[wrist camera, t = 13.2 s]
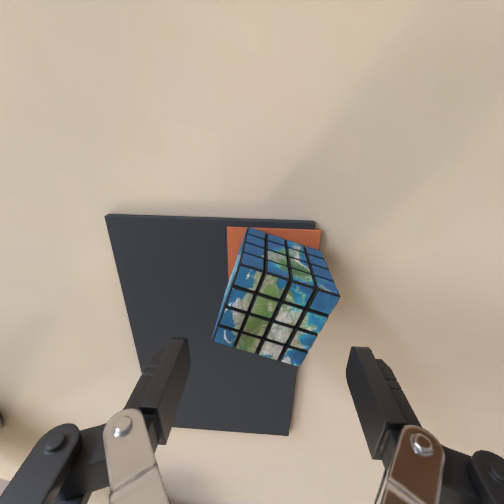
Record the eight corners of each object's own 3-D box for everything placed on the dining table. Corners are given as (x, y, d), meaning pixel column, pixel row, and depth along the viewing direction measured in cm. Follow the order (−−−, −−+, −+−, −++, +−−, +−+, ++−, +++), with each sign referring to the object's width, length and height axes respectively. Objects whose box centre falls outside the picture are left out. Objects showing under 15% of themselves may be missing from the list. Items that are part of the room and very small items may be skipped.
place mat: (156, 420, 31) (153, 427, 30) (108, 213, 20) (102, 216, 19) (292, 431, 30) (293, 438, 30) (320, 220, 19) (322, 224, 19)
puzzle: (322, 250, 19) (342, 296, 14) (292, 310, 22) (299, 368, 17) (247, 225, 19) (238, 262, 14) (225, 289, 22) (210, 342, 16)
